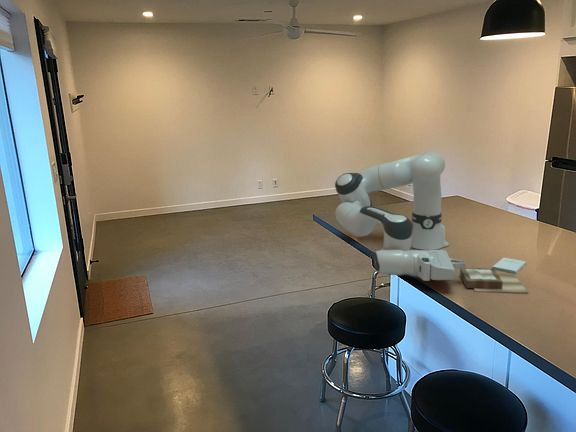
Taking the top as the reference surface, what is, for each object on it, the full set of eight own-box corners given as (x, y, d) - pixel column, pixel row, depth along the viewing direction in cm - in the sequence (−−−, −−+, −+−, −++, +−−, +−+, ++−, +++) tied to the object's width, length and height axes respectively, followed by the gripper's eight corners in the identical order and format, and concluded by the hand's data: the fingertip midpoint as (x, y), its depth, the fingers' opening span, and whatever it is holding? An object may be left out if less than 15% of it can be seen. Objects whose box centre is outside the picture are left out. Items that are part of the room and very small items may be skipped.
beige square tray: (465, 273, 166) (465, 272, 166) (513, 275, 164) (513, 274, 163) (474, 291, 151) (475, 290, 151) (528, 293, 148) (528, 292, 148)
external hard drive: (491, 270, 170) (502, 260, 179) (515, 275, 165) (525, 265, 174) (492, 266, 169) (503, 256, 178) (516, 271, 164) (526, 261, 173)
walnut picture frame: (460, 267, 164) (493, 268, 162) (459, 274, 165) (493, 275, 163) (466, 280, 153) (502, 281, 151) (466, 287, 153) (502, 289, 151)
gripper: (418, 261, 171) (458, 262, 168) (424, 283, 151) (470, 284, 149) (419, 244, 169) (459, 245, 167) (425, 264, 149) (471, 265, 147)
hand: (464, 264), depth 157 cm, fingers closed
